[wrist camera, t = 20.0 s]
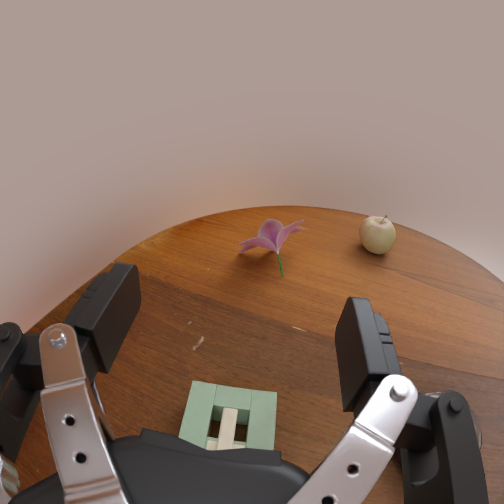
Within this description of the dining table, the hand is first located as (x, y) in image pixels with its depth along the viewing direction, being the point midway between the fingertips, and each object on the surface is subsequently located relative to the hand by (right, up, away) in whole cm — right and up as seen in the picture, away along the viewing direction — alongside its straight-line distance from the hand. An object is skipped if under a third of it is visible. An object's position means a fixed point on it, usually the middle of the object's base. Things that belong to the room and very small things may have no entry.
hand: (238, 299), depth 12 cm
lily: (+3, 0, +41) cm, 41 cm away
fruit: (+25, +2, +49) cm, 55 cm away
